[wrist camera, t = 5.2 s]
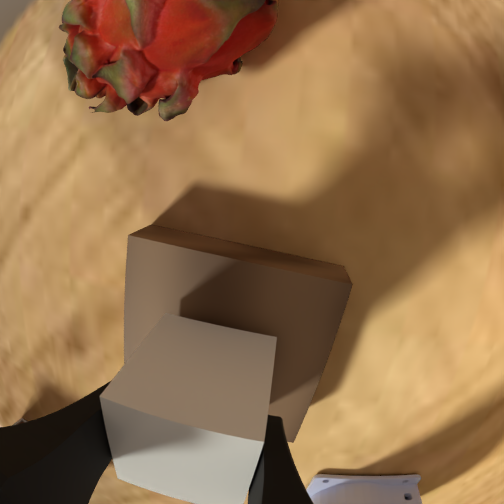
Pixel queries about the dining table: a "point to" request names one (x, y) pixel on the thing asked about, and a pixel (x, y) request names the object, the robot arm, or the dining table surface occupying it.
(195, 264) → the block
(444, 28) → the dining table surface
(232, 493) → the ceramic block
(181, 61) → the dragon fruit
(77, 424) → the robot arm
